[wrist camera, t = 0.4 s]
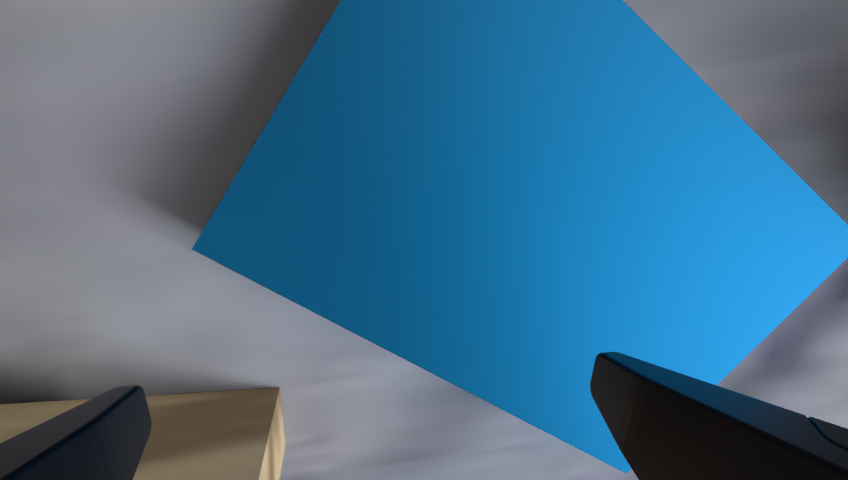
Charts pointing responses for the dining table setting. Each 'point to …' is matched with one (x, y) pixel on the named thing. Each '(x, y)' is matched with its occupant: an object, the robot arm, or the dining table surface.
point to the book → (523, 203)
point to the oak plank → (191, 433)
